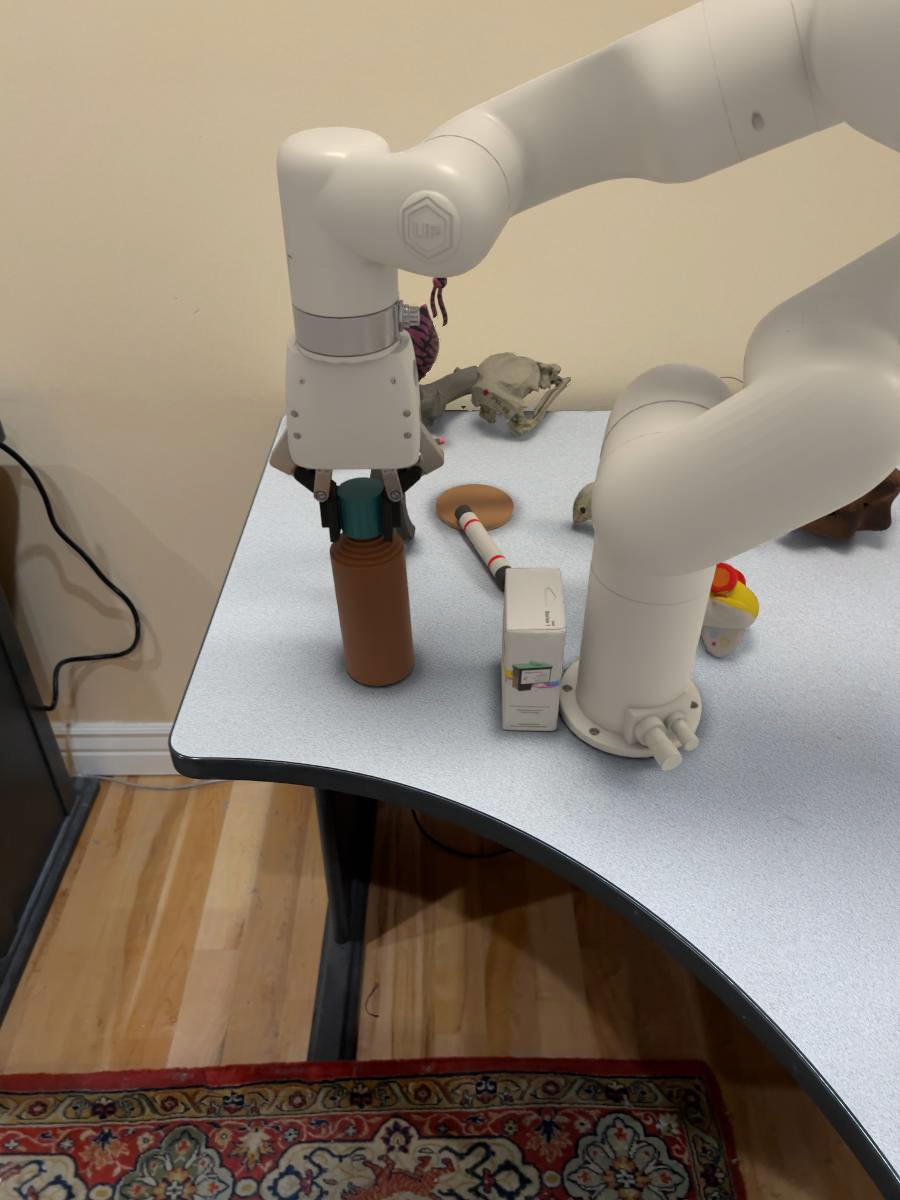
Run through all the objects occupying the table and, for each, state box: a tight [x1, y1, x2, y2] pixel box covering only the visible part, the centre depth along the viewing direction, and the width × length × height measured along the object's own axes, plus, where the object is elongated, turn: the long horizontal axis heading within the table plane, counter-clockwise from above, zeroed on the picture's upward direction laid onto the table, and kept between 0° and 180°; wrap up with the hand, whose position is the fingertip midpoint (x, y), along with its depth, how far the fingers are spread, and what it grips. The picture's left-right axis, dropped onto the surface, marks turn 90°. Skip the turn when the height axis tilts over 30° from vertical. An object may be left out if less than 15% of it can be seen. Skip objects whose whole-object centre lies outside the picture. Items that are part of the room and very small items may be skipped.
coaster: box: [435, 483, 515, 532], centre depth 107 cm, size 9×9×1 cm
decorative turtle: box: [800, 467, 900, 541], centre depth 100 cm, size 10×15×8 cm
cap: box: [337, 476, 384, 539], centre depth 77 cm, size 4×4×4 cm
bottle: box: [329, 531, 415, 687], centre depth 82 cm, size 6×6×18 cm
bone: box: [419, 365, 478, 427], centre depth 125 cm, size 22×6×6 cm, turn 137°
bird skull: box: [470, 351, 571, 437], centre depth 125 cm, size 25×14×10 cm, turn 168°
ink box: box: [500, 567, 567, 732], centre depth 80 cm, size 8×5×12 cm, turn 178°
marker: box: [455, 505, 512, 590], centre depth 99 cm, size 15×2×2 cm, turn 21°
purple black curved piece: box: [404, 277, 449, 382], centre depth 123 cm, size 25×8×19 cm
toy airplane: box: [700, 562, 760, 658], centre depth 90 cm, size 13×9×15 cm
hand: (362, 530), depth 78 cm, fingers closed on cap, 3 cm apart
